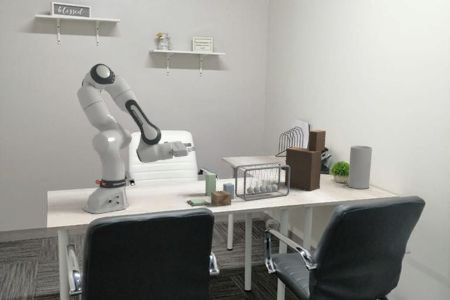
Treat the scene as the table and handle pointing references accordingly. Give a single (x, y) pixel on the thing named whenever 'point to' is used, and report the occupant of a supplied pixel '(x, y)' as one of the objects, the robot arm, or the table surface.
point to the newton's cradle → (263, 188)
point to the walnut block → (220, 198)
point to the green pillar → (210, 183)
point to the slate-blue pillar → (229, 189)
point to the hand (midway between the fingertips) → (193, 146)
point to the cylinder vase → (359, 167)
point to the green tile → (197, 202)
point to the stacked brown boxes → (306, 163)
